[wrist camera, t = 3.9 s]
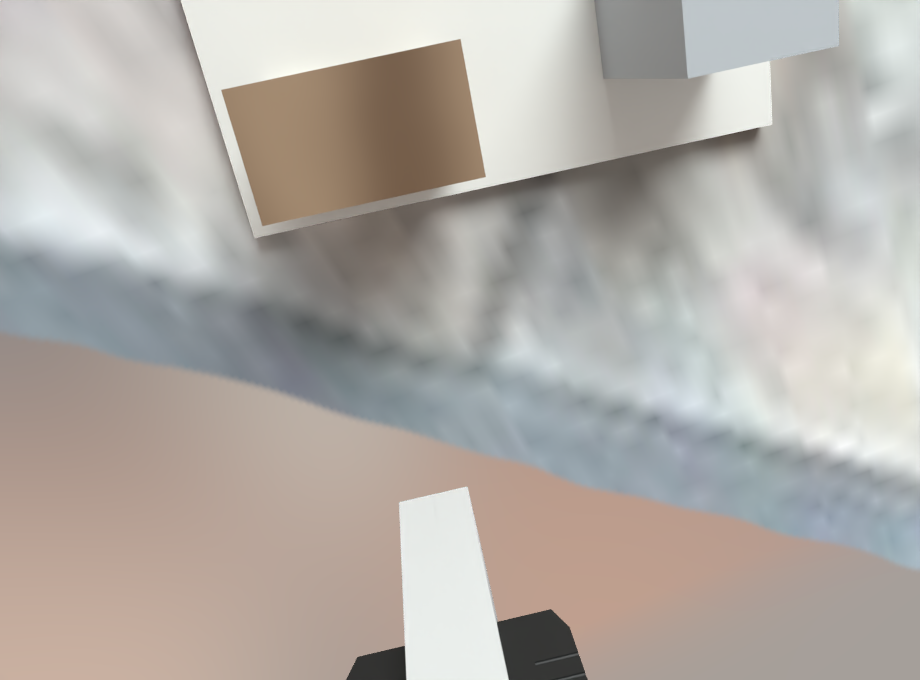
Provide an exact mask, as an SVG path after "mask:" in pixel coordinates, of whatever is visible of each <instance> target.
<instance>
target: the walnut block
mask: <svg viewBox="0 0 920 680" xmlns="http://www.w3.org/2000/svg"><path fill="white" fill-rule="evenodd" d="M221 91H222V95H223V98H224V101H225V105H226V108H227V111H228V114H229V118H230V121H231V124H232V128H233V131H234V134H235V137H236V141H237V144H238V147H239V151H240V154H241V157H242V161H243V164H244V167H245V170H246V174H247V177H248V180H249V184H250V187H251V190H252V193H253V197H254V200H255V203H256V207H257V210H258V213H259V216H260V220H261V223H262V226H266V225H270V224H275V223H279V222H284V221H288V220H293V219H297V218H302V217H307V216H311V215H316V214H320V213H325V212H329V211H334V210H338V209H343V208H347V207H352V206H357V205H361V204H366V203H370V202H375V201H379V200H384V199H388V198H393V197H398V196H402V195H407V194H411V193H416V192H420V191H425V190H429V189H434V188H439V187H443V186H448V185H452V184H457V183H461V182H466V181H470V180H475V179H479V178H484V177H486V175H485V170H484V164H483V159H482V153H481V148H480V142H479V137H478V131H477V126H476V120H475V115H474V110H473V104H472V99H471V93H470V88H469V82H468V77H467V71H466V66H465V60H464V55H463V50H462V44H461V39H458V40H453V41H448V42H444V43H439V44H434V45H429V46H425V47H420V48H415V49H411V50H406V51H401V52H397V53H392V54H387V55H383V56H378V57H373V58H368V59H364V60H359V61H354V62H350V63H345V64H340V65H336V66H331V67H326V68H322V69H317V70H312V71H307V72H303V73H298V74H293V75H289V76H284V77H279V78H275V79H270V80H265V81H261V82H256V83H251V84H246V85H242V86H237V87H232V88H228V89H223V90H221Z"/></svg>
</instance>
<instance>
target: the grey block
mask: <svg viewBox="0 0 920 680" xmlns="http://www.w3.org/2000/svg"><path fill="white" fill-rule="evenodd" d="M594 2H595V10H596V19H597V27H598V36H599V44H600V53H601V61H602V70H603V78H604V79H689V78H693V77H698V76H702V75H707V74H712V73H716V72H721V71H725V70H730V69H735V68H739V67H744V66H748V65H753V64H758V63H762V62H767V61H771V60H776V59H781V58H785V57H790V56H795V55H799V54H804V53H808V52H813V51H818V50H822V49H827V48H831V47H836V46H839V0H594Z"/></svg>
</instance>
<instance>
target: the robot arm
mask: <svg viewBox="0 0 920 680" xmlns="http://www.w3.org/2000/svg"><path fill="white" fill-rule="evenodd" d="M399 510H400V535H401V560H402V584H403V609H404V630H405V631H404V632H405V646H402V647H398V648H394V649H389V650H385V651H381V652H377V653H373V654H368V655H364V656H360V657H357V659H356V661H355V663H354V665H353V667H352V669H351V671H350V673H349V676H348V677H347V680H587V677H586V675H585V671H584V668H583V665H582V662H581V659H580V656H579V654H578V651H577V648H576V645H575V642H574V639H573V636H572V633H571V630H570V628H569V626H567V624H566V623H564V622H563V621H562V620H561V619H560V618H559V617H558V616H557V615H556V614H555V613H554V612H553V611H552V610H551V609H550V610H546V611H542V612H538V613H534V614H529V615H525V616H521V617H516V618H512V619H508V620H504V621H499V622H498V621H497V616H496V611H495V607H494V602H493V597H492V593H491V588H490V583H489V579H488V575H487V570H486V566H485V562H484V557H483V553H482V548H481V544H480V540H479V535H478V531H477V527H476V522H475V518H474V514H473V509H472V505H471V500H470V496H469V492H468V488H467V487H464V488H459V489H455V490H451V491H446V492H442V493H437V494H433V495H429V496H425V497H420V498H416V499H412V500H408V501H403V502H399Z"/></svg>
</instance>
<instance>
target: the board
mask: <svg viewBox="0 0 920 680" xmlns="http://www.w3.org/2000/svg"><path fill="white" fill-rule="evenodd" d="M181 3H182V7H183V10H184V13H185V16H186V19H187V23H188V26H189V29H190V32H191V36H192V39H193V42H194V45H195V48H196V52H197V55H198V58H199V61H200V65H201V68H202V71H203V74H204V77H205V81H206V84H207V87H208V90H209V94H210V97H211V100H212V103H213V106H214V110H215V113H216V116H217V119H218V123H219V126H220V129H221V132H222V135H223V139H224V142H225V145H226V148H227V152H228V155H229V158H230V161H231V164H232V168H233V171H234V174H235V177H236V181H237V184H238V187H239V190H240V193H241V197H242V200H243V203H244V206H245V210H246V213H247V216H248V219H249V223H250V226H251V229H252V232H253V235H254V238H259V237H263V236H268V235H272V234H277V233H282V232H286V231H291V230H295V229H300V228H304V227H309V226H313V225H318V224H322V223H327V222H331V221H336V220H341V219H345V218H350V217H354V216H359V215H363V214H368V213H372V212H377V211H381V210H386V209H391V208H395V207H400V206H404V205H409V204H413V203H418V202H422V201H427V200H431V199H436V198H440V197H445V196H450V195H454V194H459V193H463V192H468V191H472V190H477V189H481V188H486V187H490V186H495V185H500V184H504V183H509V182H513V181H518V180H522V179H527V178H531V177H536V176H540V175H545V174H549V173H554V172H559V171H563V170H568V169H572V168H577V167H581V166H586V165H590V164H595V163H599V162H604V161H609V160H613V159H618V158H622V157H627V156H631V155H636V154H640V153H645V152H649V151H654V150H658V149H663V148H668V147H672V146H677V145H681V144H686V143H690V142H695V141H699V140H704V139H708V138H713V137H718V136H722V135H727V134H731V133H736V132H740V131H745V130H749V129H754V128H758V127H763V126H768V125H772V105H771V78H770V61H767V62H762V63H758V64H753V65H748V66H744V67H739V68H735V69H730V70H725V71H721V72H716V73H712V74H707V75H702V76H698V77H693V78H689V79H604V78H603V70H602V61H601V53H600V44H599V36H598V27H597V19H596V10H595V2H594V0H181ZM458 39H461V44H462V50H463V55H464V60H465V66H466V71H467V77H468V82H469V88H470V93H471V99H472V104H473V110H474V115H475V120H476V126H477V131H478V137H479V142H480V148H481V153H482V159H483V164H484V170H485V175H486V177H484V178H479V179H475V180H470V181H466V182H461V183H457V184H452V185H448V186H443V187H439V188H434V189H429V190H425V191H420V192H416V193H411V194H407V195H402V196H398V197H393V198H388V199H384V200H379V201H375V202H370V203H366V204H361V205H357V206H352V207H347V208H343V209H338V210H334V211H329V212H325V213H320V214H316V215H311V216H307V217H302V218H297V219H293V220H288V221H284V222H279V223H275V224H270V225H266V226H262V223H261V220H260V216H259V213H258V210H257V207H256V203H255V200H254V197H253V193H252V190H251V187H250V184H249V180H248V177H247V174H246V170H245V167H244V164H243V161H242V157H241V154H240V151H239V147H238V144H237V141H236V137H235V134H234V131H233V128H232V124H231V121H230V118H229V114H228V111H227V108H226V105H225V101H224V98H223V95H222V91H221V90H223V89H228V88H232V87H237V86H242V85H246V84H251V83H256V82H261V81H265V80H270V79H275V78H279V77H284V76H289V75H293V74H298V73H303V72H307V71H312V70H317V69H322V68H326V67H331V66H336V65H340V64H345V63H350V62H354V61H359V60H364V59H368V58H373V57H378V56H383V55H387V54H392V53H397V52H401V51H406V50H411V49H415V48H420V47H425V46H429V45H434V44H439V43H444V42H448V41H453V40H458Z"/></svg>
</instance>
